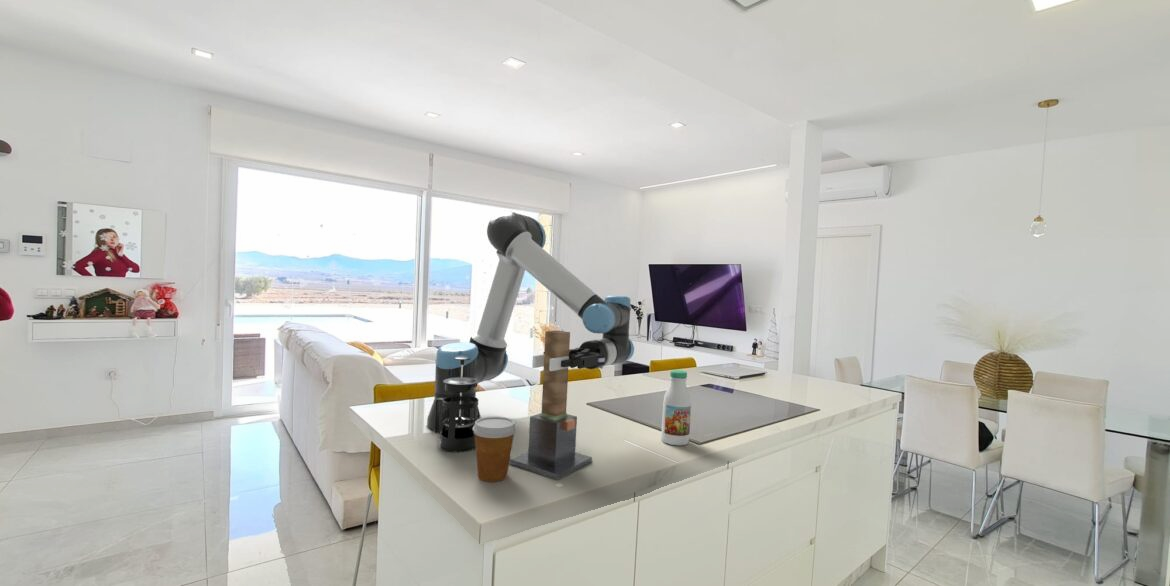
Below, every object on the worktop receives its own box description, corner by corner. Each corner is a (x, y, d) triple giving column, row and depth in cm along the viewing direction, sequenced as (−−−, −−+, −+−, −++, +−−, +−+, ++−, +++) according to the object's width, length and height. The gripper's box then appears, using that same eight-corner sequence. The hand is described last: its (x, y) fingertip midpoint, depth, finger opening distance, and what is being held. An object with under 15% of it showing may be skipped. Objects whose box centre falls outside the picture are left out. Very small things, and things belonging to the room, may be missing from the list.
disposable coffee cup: (462, 474, 108) (464, 420, 107) (498, 464, 114) (500, 413, 114) (486, 489, 101) (488, 431, 100) (523, 477, 107) (525, 423, 107)
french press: (485, 442, 129) (489, 355, 128) (470, 454, 120) (474, 361, 119) (444, 437, 131) (447, 352, 131) (426, 449, 122) (430, 357, 121)
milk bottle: (655, 440, 138) (659, 369, 137) (672, 435, 143) (676, 367, 143) (677, 448, 132) (681, 374, 132) (694, 443, 137) (698, 372, 137)
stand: (509, 464, 115) (511, 416, 115) (546, 448, 127) (548, 405, 126) (557, 479, 107) (559, 429, 107) (591, 461, 119) (594, 416, 119)
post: (539, 431, 116) (544, 331, 115) (551, 427, 120) (556, 330, 119) (554, 435, 114) (559, 333, 113) (565, 431, 117) (570, 332, 117)
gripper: (623, 372, 127) (572, 386, 107) (569, 363, 136) (513, 373, 117) (625, 343, 126) (574, 352, 107) (571, 336, 136) (514, 342, 116)
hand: (542, 363), depth 112 cm, fingers closed on post, 4 cm apart
